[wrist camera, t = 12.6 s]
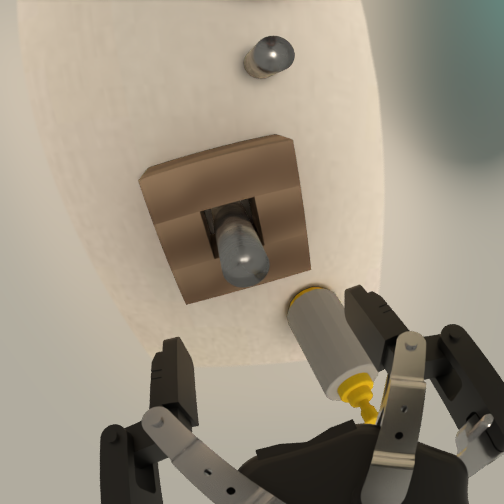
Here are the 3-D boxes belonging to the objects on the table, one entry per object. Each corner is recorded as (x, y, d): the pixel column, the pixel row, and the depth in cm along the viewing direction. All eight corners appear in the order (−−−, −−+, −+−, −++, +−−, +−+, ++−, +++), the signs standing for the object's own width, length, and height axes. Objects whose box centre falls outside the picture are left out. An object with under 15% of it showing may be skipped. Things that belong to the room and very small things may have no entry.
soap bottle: (307, 332, 38) (361, 444, 22) (272, 311, 34) (323, 442, 19) (344, 297, 36) (417, 404, 20) (312, 272, 33) (391, 395, 17)
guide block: (148, 167, 24) (138, 180, 20) (275, 134, 25) (292, 139, 20) (186, 275, 30) (186, 304, 26) (294, 245, 31) (311, 269, 26)
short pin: (240, 51, 20) (251, 38, 16) (273, 47, 21) (290, 34, 16) (247, 81, 22) (259, 74, 18) (279, 76, 22) (298, 69, 18)
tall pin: (207, 198, 26) (216, 253, 17) (238, 190, 27) (264, 240, 17) (215, 226, 28) (228, 292, 18) (245, 218, 28) (273, 280, 19)
